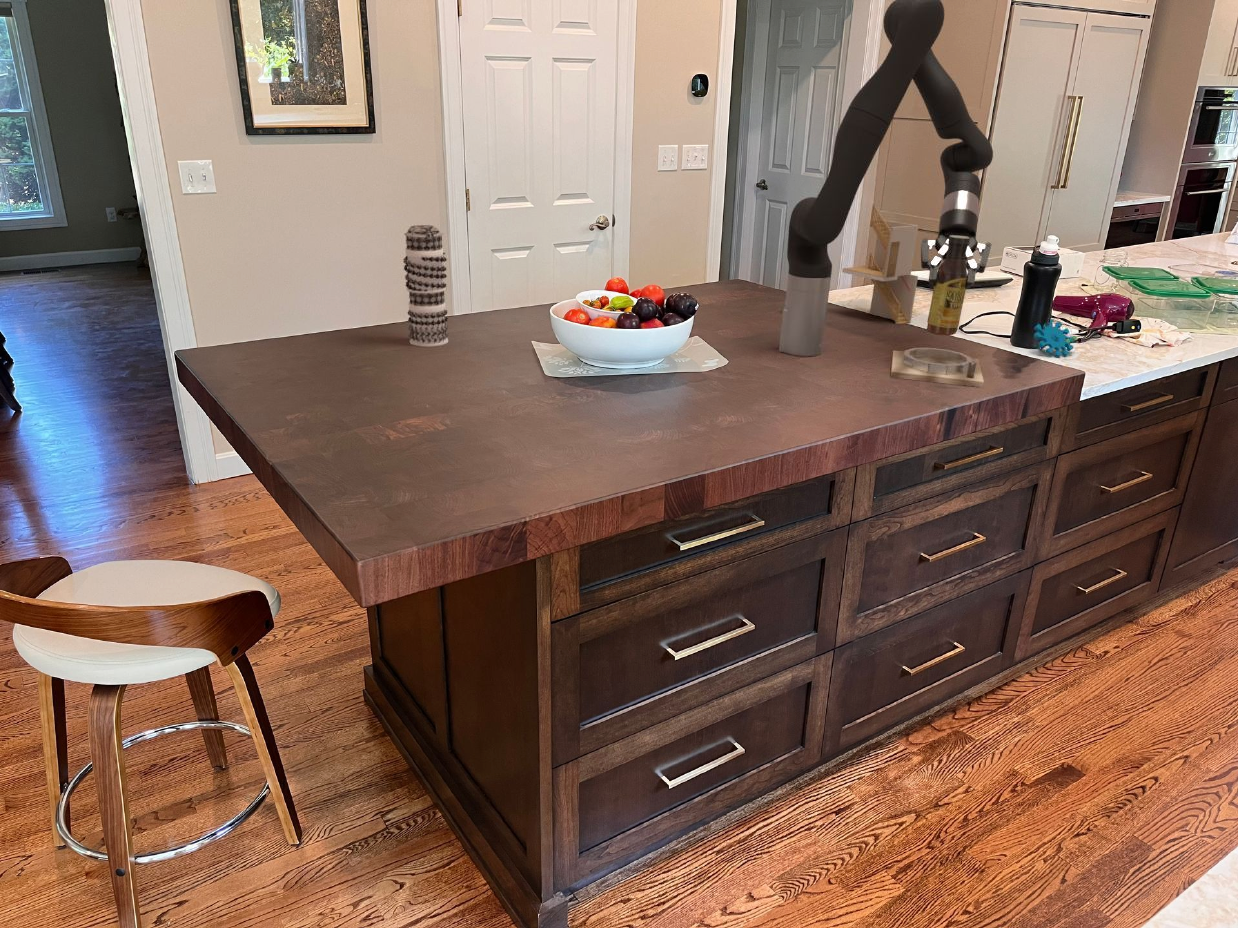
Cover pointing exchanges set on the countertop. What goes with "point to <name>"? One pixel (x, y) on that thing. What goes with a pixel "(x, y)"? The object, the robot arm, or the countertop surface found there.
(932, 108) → the robot arm
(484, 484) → the countertop surface
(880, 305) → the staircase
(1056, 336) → the teal virus model
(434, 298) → the decorative candle
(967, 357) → the white segmented ring
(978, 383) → the maple board
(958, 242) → the sauce bottle
